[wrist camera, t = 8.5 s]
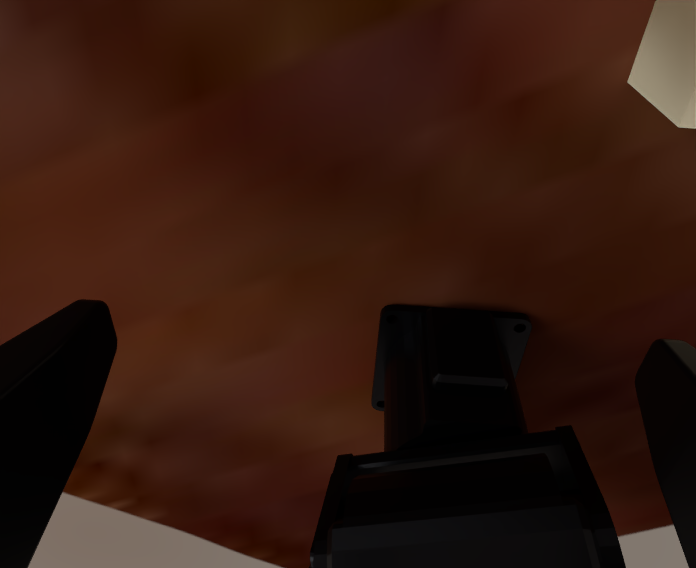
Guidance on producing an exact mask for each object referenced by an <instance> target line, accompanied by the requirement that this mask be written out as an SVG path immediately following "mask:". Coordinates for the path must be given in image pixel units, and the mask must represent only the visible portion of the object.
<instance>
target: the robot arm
mask: <svg viewBox="0 0 696 568" xmlns="http://www.w3.org/2000/svg"><path fill="white" fill-rule="evenodd" d="M389 315H395V316H396V317H395V318H390V317H388V316H389ZM517 324H523V325H521V326H515V325H517ZM531 329H532V325H531V322H530V319H529V317H528V316H527V315H525V314H522V313H509V312H494V311H480V310H465V309H450V308H436V307H421V306H407V305H387V306H385V307H384V308H383V309H382V310H381V314H380V323H379V333H378V342H377V352H376V361H375V371H374V380H373V390H372V407H373V408H374V409H376V410H379V411H384V452H379V453H371V454H364V455H356V456H353V455H352V454H344V455H338V456H337V460H336V463H335V467H334V471H333V473H332V474H331V477H330V481H329V485H328V488H327V492H326V496H325V499H324V503H323V507H322V510H321V514H320V518H319V521H318V525H317V529H316V532H315V536H314V540H313V543H312V547H311V552H310V561H311V564H310V566H309V568H626V566H625V563H624V559H623V555H622V551H621V548H620V544H619V541H618V537H617V534H616V531H615V527H614V525H613V522H612V519H611V516H610V513H609V511H608V508H607V506H606V503H605V501H604V498H603V496H602V494H601V492H600V489H599V487H598V485H597V483H596V480H595V478H594V476H593V473H592V471H591V469H590V467H589V464H588V462H587V460H586V458H585V455H584V453H583V451H582V449H581V446H580V444H579V442H578V440H577V437H576V435H575V433H574V431H573V428H572V426H571V425H569V426H562V427H555V430H551V431H543V432H536V433H528V430H527V426H526V422H525V418H524V414H523V410H522V406H521V402H520V398H519V395H518V391H517V387H516V383H515V378H516V375H517V372H518V369H519V366H520V363H521V360H522V357H523V354H524V351H525V348H526V345H527V341H528V338H529V335H530V332H531ZM116 349H117V336H116V332H115V329H114V325H113V322H112V318H111V315H110V311H109V308H108V306H107V304H106V303H105V302H103V301H100V300H86V299H82V300H77V301H75V302H73V303H72V304H70V305H68V306H67V307H65V308H63V309H62V310H60V311H58V312H56V313H55V314H53V315H51V316H50V317H48V318H46V319H45V320H43V321H41V322H39V323H38V324H36V325H34V326H33V327H31V328H29V329H28V330H26V331H24V332H22V333H21V334H19V335H17V336H16V337H14V338H12V339H11V340H9V341H7V342H5V343H4V344H2V345H0V568H28V566H29V563H30V561H31V559H32V557H33V555H34V553H35V551H36V548H37V546H38V544H39V542H40V539H41V537H42V535H43V533H44V531H45V529H46V527H47V524H48V522H49V520H50V518H51V516H52V513H53V511H54V509H55V507H56V505H57V503H58V500H59V498H60V495H61V494H62V492H63V489H64V487H65V485H66V483H67V481H68V479H69V476H70V474H71V472H72V470H73V468H74V465H75V463H76V461H77V459H78V457H79V455H80V452H81V450H82V448H83V446H84V444H85V441H86V439H87V437H88V434H89V432H90V429H91V426H92V424H93V421H94V418H95V415H96V412H97V409H98V406H99V403H100V399H101V396H102V393H103V390H104V387H105V384H106V381H107V378H108V375H109V372H110V369H111V366H112V362H113V359H114V356H115V353H116ZM635 387H636V392H637V397H638V401H639V405H640V410H641V414H642V418H643V422H644V427H645V431H646V435H647V440H648V444H649V448H650V453H651V457H652V461H653V465H654V468H655V472H656V475H657V478H658V481H659V484H660V487H661V490H662V493H663V496H664V498H665V501H666V504H667V507H668V510H669V512H670V515H671V518H672V521H673V524H674V527H675V529H676V532H677V535H678V538H679V541H680V543H681V546H682V549H683V552H684V555H685V557H686V560H687V563H688V566H689V568H696V349H695V348H694V347H692V346H691V345H689V344H688V343H686V342H685V341H682V340H672V339H658V340H656V341H654V342H653V343H652V345H651V346H650V348H649V350H648V352H647V354H646V356H645V358H644V360H643V362H642V364H641V366H640V368H639V370H638V371H637V374H636V378H635Z"/></svg>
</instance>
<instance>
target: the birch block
mask: <svg viewBox="0 0 696 568" xmlns="http://www.w3.org/2000/svg"><path fill="white" fill-rule="evenodd" d="M628 83H629V84H630V85H631V86H632V87H633V88H635V89H636V90H637V91H638V92H639V93H640V94H641V95H642V96H644V97H645V98H646V99H647V100H648V101H649V102H650V103H652V104H653V105H654V106H655V107H656V108H657V109H658V110H659V111H661V112H662V113H663V114H664V115H665V116H666V117H667V118H669V119H670V120H671V121H672V122H673V123H674V124H675V125H676V126H678V127H681V128H696V0H656V2H655V5H654V7H653V10H652V13H651V16H650V19H649V22H648V25H647V27H646V30H645V33H644V36H643V39H642V42H641V45H640V48H639V50H638V53H637V56H636V59H635V62H634V65H633V68H632V70H631V73H630V76H629V79H628Z"/></svg>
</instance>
